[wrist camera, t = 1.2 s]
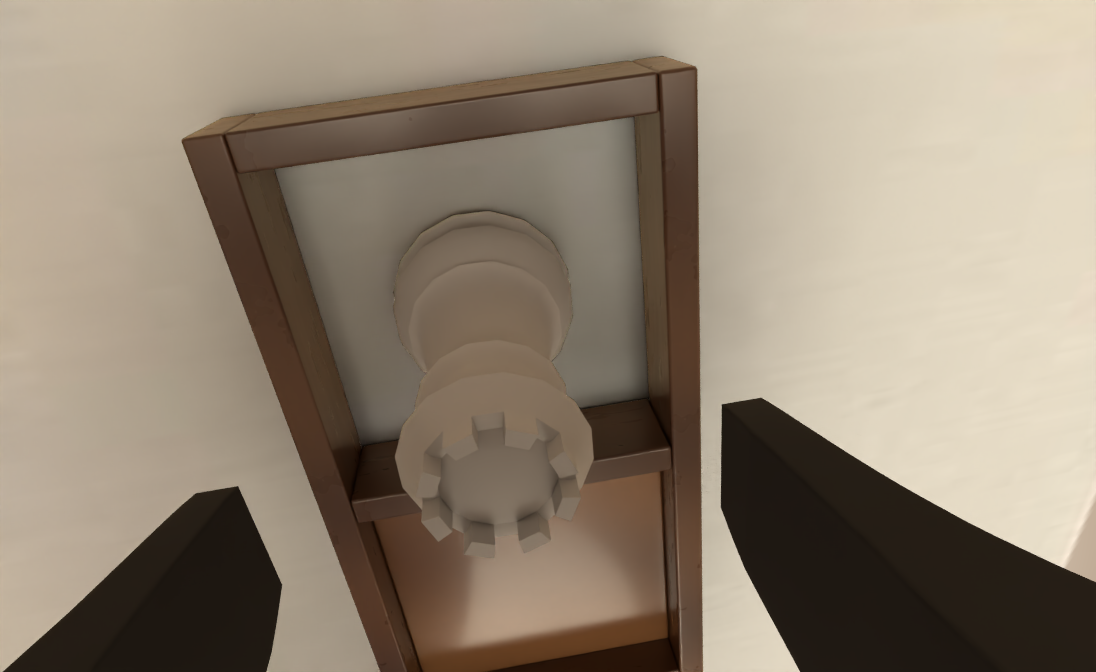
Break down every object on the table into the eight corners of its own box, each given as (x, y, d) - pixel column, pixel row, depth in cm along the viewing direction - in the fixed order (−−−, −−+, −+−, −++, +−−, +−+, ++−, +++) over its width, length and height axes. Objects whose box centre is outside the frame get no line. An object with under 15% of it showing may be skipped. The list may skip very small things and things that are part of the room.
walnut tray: (682, 620, 24) (704, 681, 22) (409, 671, 24) (404, 737, 21) (664, 55, 15) (698, 65, 13) (220, 118, 14) (179, 139, 12)
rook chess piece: (599, 251, 17) (698, 435, 10) (519, 386, 19) (556, 627, 12) (439, 172, 16) (422, 322, 9) (368, 326, 17) (304, 558, 10)
